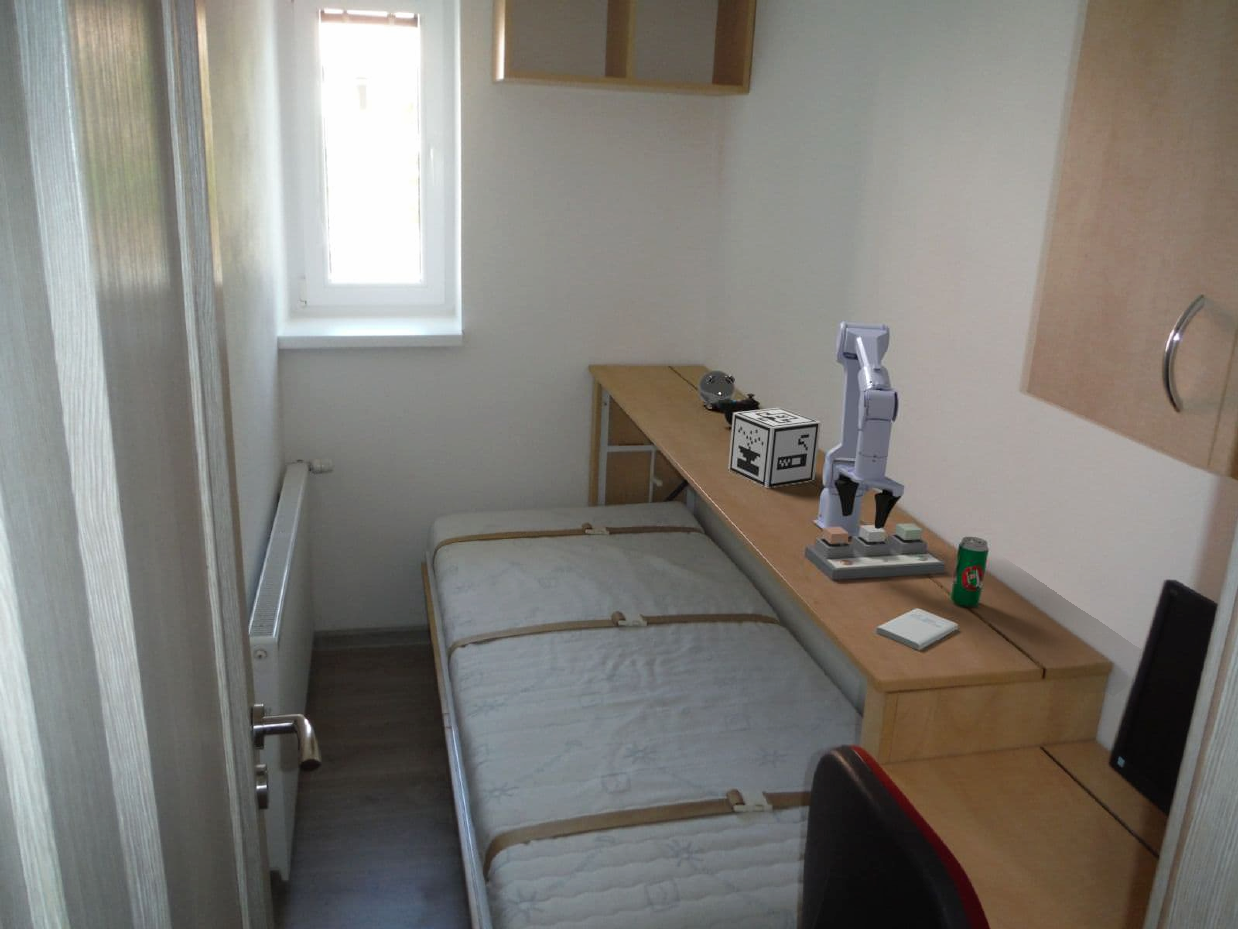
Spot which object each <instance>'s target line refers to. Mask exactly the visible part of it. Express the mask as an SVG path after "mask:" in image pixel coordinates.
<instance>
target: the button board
mask: <svg viewBox="0 0 1238 929" xmlns="http://www.w3.org/2000/svg"><path fill="white" fill-rule="evenodd" d="M927 548H928V542H927V541H925V540H924V539H923V538H921V539H914V540H904V539H903V538H901V537H900V536H898V535H897V534H896V533H888V536H887V541H886V540H885V541H875V542H867V541H866V540H865V539H864V538H862V537H861V536H852V537H851V543H850V542H848V543H837V544H830V543H829V542H828V541H826V540H825V539H824V538H823V537H815V538H814V545H806V546H805V550H804V557H806V559H808V560H809V561H810V562H811V561H812V562H811V563H812V564H813V565H814V566H816V568H818V569H819V570H820V571H821V572H822V573H823V574H824V575H826V576H827V577H828V578H829V579H830V580H831V581H835V580H853V579H854V580H855V579H868V578H882V577H883V578H884V577H898V576H903V577H904V576H913V575H914V576H917V575H932V574H933V575H934V574H945V573H946V572H945V571H946V567H947V566H946V565H947V563H946V562H945V561H943V560H942V559H941V558H939V557H938V556H937V555H935V554H933V553H932V552H931V551H929V550H928V549H927ZM917 554H930V555H931V556H933V557H934V558H936V559H937V560H939V561H940V563H925V564H909V565H892V566H875V567H858V568H841V569H836V568H835V567H834V566H833V565H832V564H831V563H829V562H828V561H827V560H829V559H847V558H864V557H882V556H900V555H917Z"/></svg>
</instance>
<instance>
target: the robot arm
mask: <svg viewBox="0 0 1238 929" xmlns="http://www.w3.org/2000/svg"><path fill="white" fill-rule="evenodd" d="M890 332H891V331H890V328H889V327H888V325H887V324H886V323H882V324H878V323H877V324H876V323H863V322H846V321H841V323H839V325H838V327H837V332H836V342H835V344H836V345H835V362H837V363H838V364H840V365H842V366H843V372H844V381H843V382H844V383H843V396H842V408H841V409H842V410H841V419H840V420H841V422H840V436H839V443H838V444H837V445H835V446H834V447H833V448H830V449H829V450H828V451H827V452H826V454H825V456H824V458H825V459H824V463H823V470H822V485H823V486H824V488H823V490H822V491H821V493H820V497H819V498H820V499H819V505H818V506H819V507H818V515H817V519H813V524H816V526H818V527H819V528H820V529H821V530H823V527H841V528H843V529H844V530H845V531H846V532H848V533H849V535H848V538H850V537H851V538H852V536H860V535H859V533H860V522H861V514H862V508H863V507H862V506H863V502H864V501H863V499H864V496H866V493H867V492H869V491H870V490H871V489H872V488H874V489H876V490H879V491H881V492H878V493H875V494H874V501H875V517H874V525H875V528H876V529H880V528H882V529H883V528H885V525H886V523H887V521H888V518H889V516H890V513H891V512H892V510H893V508H894V507H895V505H896V504H897V503H898V501H899V500H901V498H902V496H903V495H904V491H905V485H904V484H902V483H900V482H897V481H895V480H893V479H891V478H890V477H888V476H886V470H887V463H888V456H889V449H890V442H891V441H890V440H891V434H892V426H893V423H895V422H896V420H897V417H898V412H899V407H900V406H899V404H900V402H899V401H900V400H899V393H898V391H897V390H896V389H895V388H894V387H893V388H892V386H891V380H890V375H889V371H888V369H887V368H886V367H885V366H884V365H882V360H883V359H884V357H885V355H886V353H887V352H888V349H889V345H890V338H891V337H890V336H891V335H890V334H891V333H890ZM892 422H893V423H892ZM838 458H842V459H838ZM843 458H844V459H845V460H844V459H843ZM846 459H855V460H846Z"/></svg>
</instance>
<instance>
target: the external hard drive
mask: <svg viewBox="0 0 1238 929" xmlns="http://www.w3.org/2000/svg"><path fill="white" fill-rule="evenodd" d="M958 627H959V624H958V623H956V622H955V621H952V620H949V619H946V618H943V617H941V616H939V615H936V614H935V613H934V614H933V613H931V612H928V611H926V610H924V609H921V608H914V609H912V610H911V611H908V612H906V613H903V614H902V615H900V616H897V617H896V618H894V619H891V620H889V621H887V622H885V623H883V624H881V625H878V626H877V627H876V629H875V633H877V634H879V635H881V636H883V637H886V638H888V639H891V640H893V641H896V642H898V643H900V644H902V645H905V646H907V647H910V648H911V649H913V650H917V651H921V650H922V649H924V647H925V648H926V647H928V646H930V645H932V644H933V642H934V643H936V642H937V641H939V640H941V639H943V638H944V636H945V637H947V636H948V635H947V634H949V633H951V632H952V631H954V630H956V631H958V630H959V628H958ZM954 632H955V631H954ZM952 633H953V632H952ZM952 633H951V634H952ZM946 635H947V636H946ZM949 635H950V634H949ZM942 637H943V638H942ZM940 638H941V639H940ZM936 640H937V641H936ZM935 641H936V642H935ZM931 643H932V644H931ZM929 644H930V645H929Z"/></svg>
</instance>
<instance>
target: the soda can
mask: <svg viewBox="0 0 1238 929" xmlns="http://www.w3.org/2000/svg"><path fill="white" fill-rule="evenodd" d="M989 549H990V548H989V546H988V541H987V540H985V539H983V538H980V537H976V536H965V537H962V539H961V541H960V542H959V543H958V549H957V554H956V560H955V567H954V571H953V572H954V574H953V577H952V578H953V580H952V587H951V592H950V599H951V601H952V602H953V603H954V604H955V605H957V606H960V607H963V608H974V607H976V606H978V605H979V604H980V603H981V597H982V593H983V592H982V590H983V584H984V579H985V573H986V569H987V567H986V566H987V561H988V557H989V556H988V555H989Z"/></svg>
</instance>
